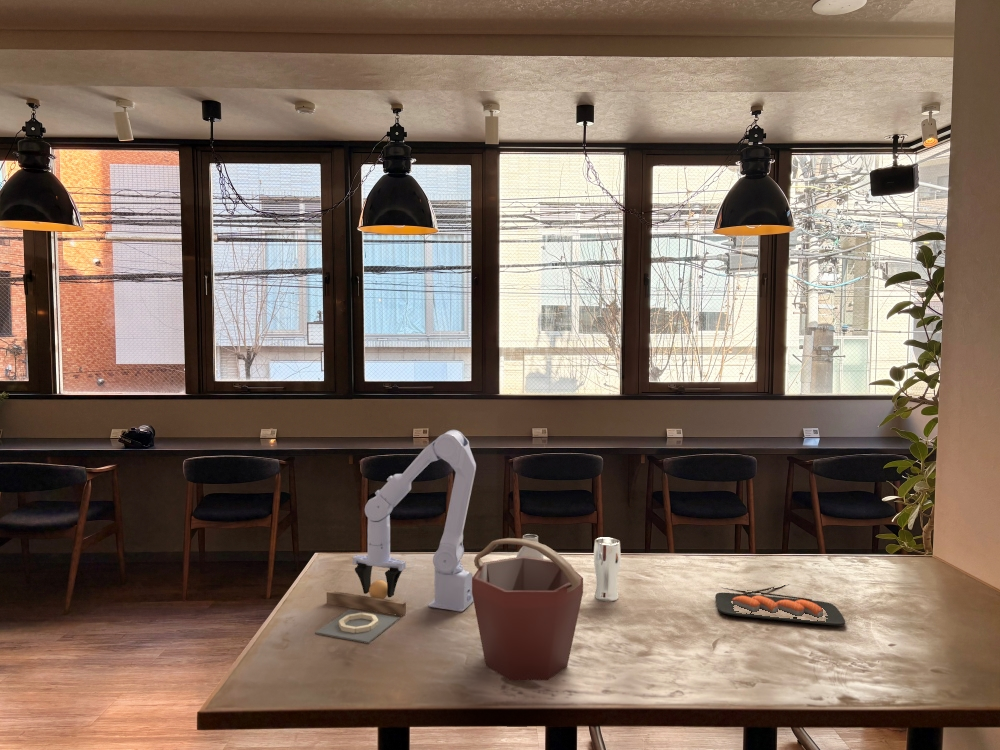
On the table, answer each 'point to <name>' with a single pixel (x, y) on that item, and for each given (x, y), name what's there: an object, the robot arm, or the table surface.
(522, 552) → the plastic bottle
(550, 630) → the bucket
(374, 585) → the ball
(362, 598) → the fence
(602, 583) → the beer glass
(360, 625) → the cradle
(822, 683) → the table surface
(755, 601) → the sushi plate
